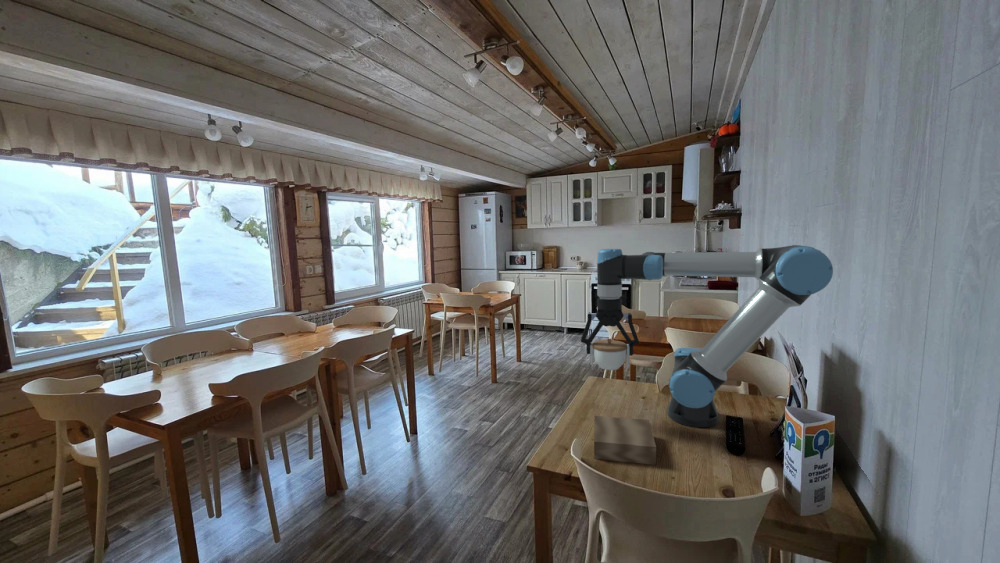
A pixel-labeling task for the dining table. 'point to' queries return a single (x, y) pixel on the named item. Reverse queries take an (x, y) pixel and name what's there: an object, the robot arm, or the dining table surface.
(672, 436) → the dining table surface
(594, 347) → the lidded jar
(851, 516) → the dining table surface
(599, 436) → the block
